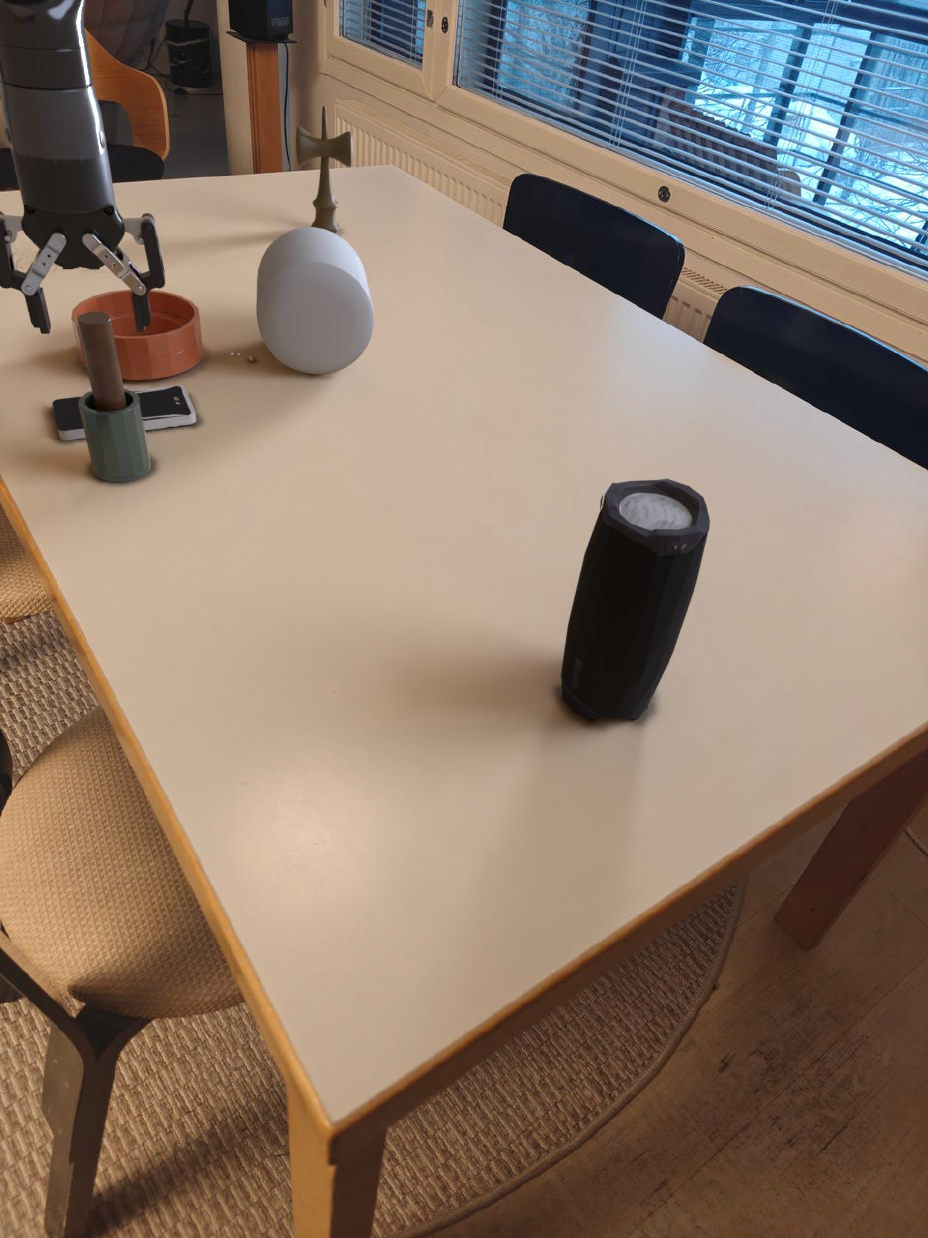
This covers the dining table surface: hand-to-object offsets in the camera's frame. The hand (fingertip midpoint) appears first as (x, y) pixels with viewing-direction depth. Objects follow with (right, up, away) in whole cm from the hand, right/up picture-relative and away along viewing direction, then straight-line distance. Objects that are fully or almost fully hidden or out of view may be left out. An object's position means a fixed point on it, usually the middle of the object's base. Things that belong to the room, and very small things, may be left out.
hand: (94, 329), depth 83 cm
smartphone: (-4, -4, +18) cm, 19 cm away
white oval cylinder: (+13, +11, +38) cm, 42 cm away
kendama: (+10, +42, +73) cm, 85 cm away
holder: (-1, -11, +10) cm, 16 cm away
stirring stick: (-1, -11, +10) cm, 15 cm away
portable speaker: (+48, -34, -8) cm, 59 cm away
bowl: (-6, +7, +30) cm, 31 cm away
